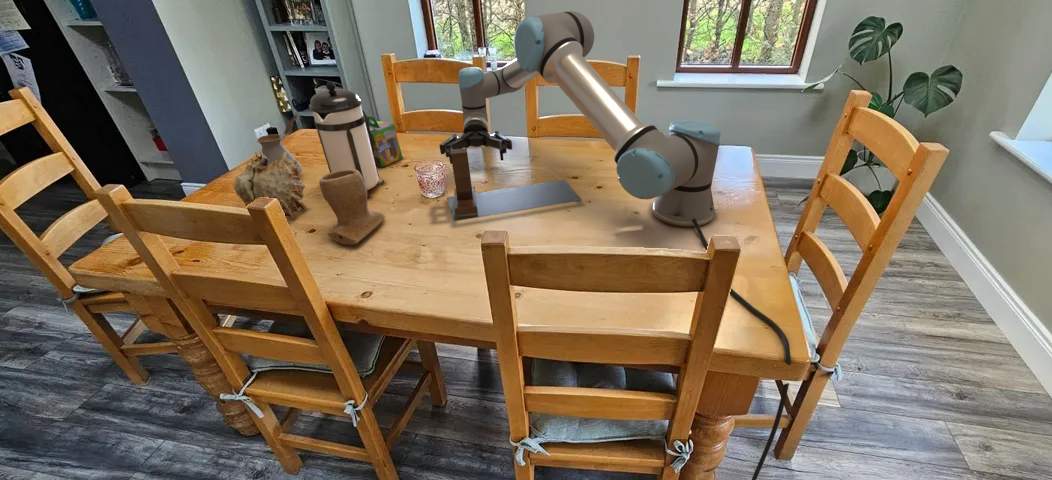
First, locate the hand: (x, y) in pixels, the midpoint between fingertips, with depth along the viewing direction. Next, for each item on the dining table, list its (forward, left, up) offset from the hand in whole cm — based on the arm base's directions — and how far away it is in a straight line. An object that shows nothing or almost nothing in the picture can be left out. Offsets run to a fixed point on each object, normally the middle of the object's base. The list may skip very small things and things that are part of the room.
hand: (476, 157), depth 131 cm
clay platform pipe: (-10, +34, -11) cm, 37 cm away
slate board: (-9, -7, -11) cm, 16 cm away
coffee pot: (+35, +53, -11) cm, 64 cm away
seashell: (+6, +53, -11) cm, 54 cm away
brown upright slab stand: (-9, +5, -9) cm, 14 cm away
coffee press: (+16, +33, -11) cm, 38 cm away
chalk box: (+35, +26, -11) cm, 45 cm away
